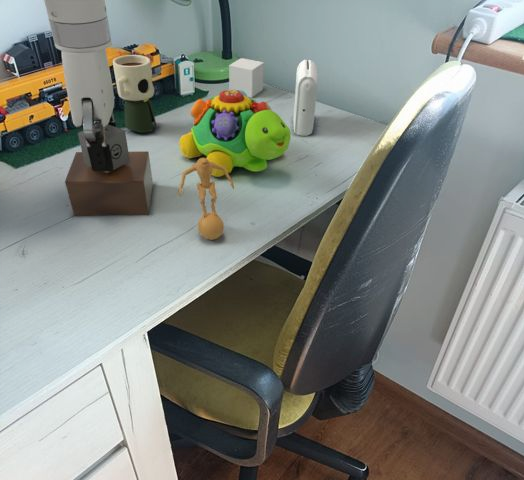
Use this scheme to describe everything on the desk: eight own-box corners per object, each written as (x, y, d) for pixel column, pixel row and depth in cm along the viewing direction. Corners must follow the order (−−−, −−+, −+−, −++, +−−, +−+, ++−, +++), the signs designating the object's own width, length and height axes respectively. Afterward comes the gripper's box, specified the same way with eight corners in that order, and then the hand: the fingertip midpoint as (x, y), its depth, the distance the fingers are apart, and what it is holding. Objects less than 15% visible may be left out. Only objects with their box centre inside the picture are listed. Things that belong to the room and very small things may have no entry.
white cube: (263, 89, 124) (264, 62, 120) (251, 97, 120) (252, 70, 116) (241, 84, 126) (241, 57, 121) (229, 92, 122) (228, 65, 117)
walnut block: (74, 215, 83) (64, 181, 79) (84, 185, 90) (75, 151, 86) (148, 214, 84) (143, 180, 80) (153, 184, 91) (148, 151, 87)
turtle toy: (243, 201, 88) (243, 133, 79) (170, 151, 100) (163, 87, 92) (315, 172, 96) (322, 107, 87) (238, 129, 108) (238, 68, 99)
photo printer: (313, 137, 106) (319, 72, 97) (292, 136, 106) (297, 71, 97) (312, 116, 113) (318, 54, 104) (293, 115, 113) (297, 53, 104)
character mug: (144, 142, 102) (134, 72, 93) (112, 136, 104) (99, 66, 94) (168, 121, 110) (161, 54, 100) (138, 116, 111) (129, 49, 102)
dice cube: (84, 164, 82) (77, 132, 78) (107, 152, 85) (101, 122, 81) (107, 173, 80) (101, 141, 77) (130, 161, 83) (124, 130, 80)
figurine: (188, 248, 78) (181, 174, 69) (180, 227, 82) (172, 154, 73) (240, 240, 80) (240, 167, 71) (230, 220, 84) (228, 148, 75)
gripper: (65, 14, 75) (91, 135, 88) (38, 52, 63) (72, 186, 76) (117, 14, 76) (135, 135, 88) (100, 53, 64) (124, 185, 76)
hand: (106, 157), depth 82 cm, fingers closed on dice cube, 7 cm apart
